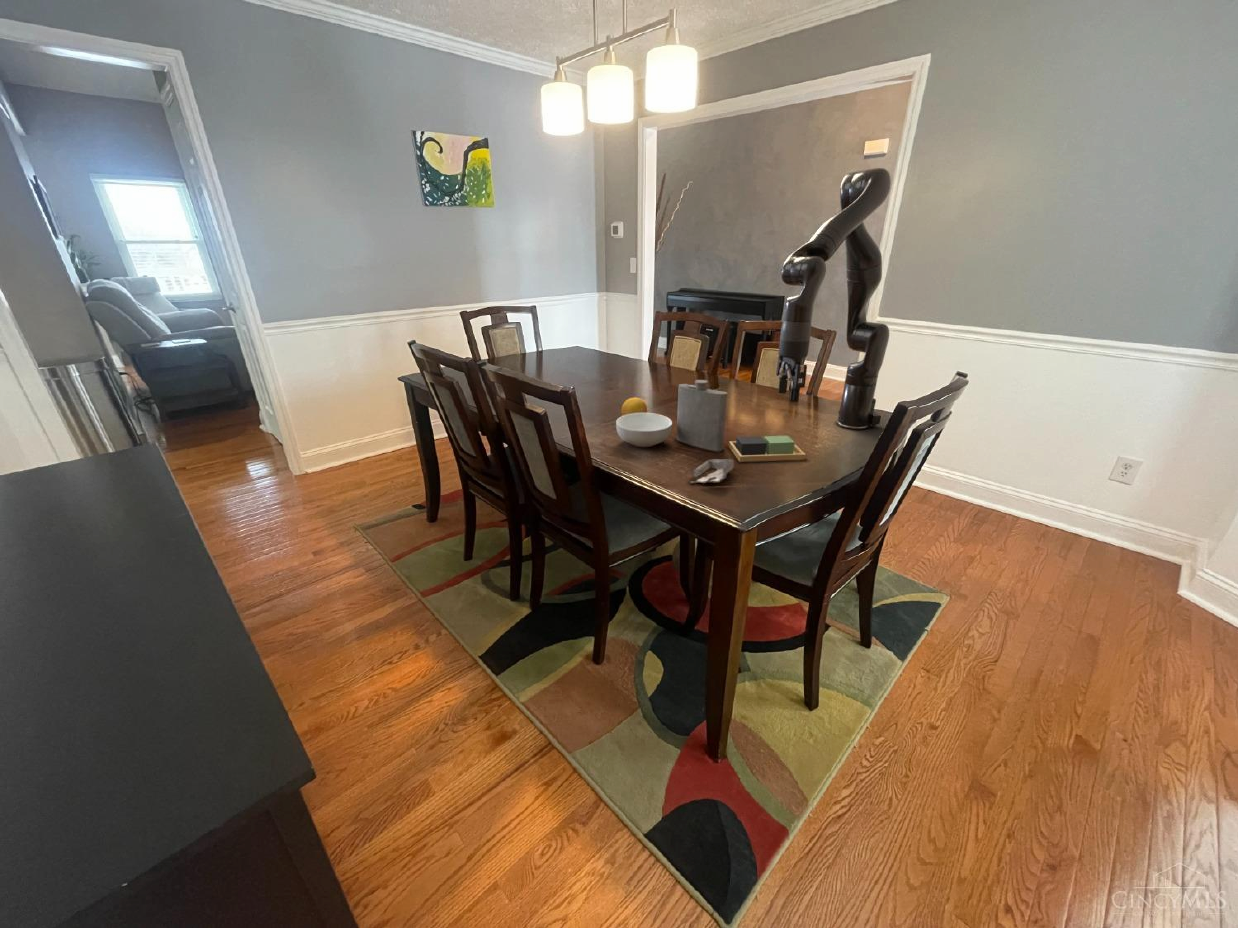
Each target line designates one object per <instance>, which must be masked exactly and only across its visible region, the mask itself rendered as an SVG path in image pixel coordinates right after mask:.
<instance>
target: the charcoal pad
mask: <svg viewBox="0 0 1238 928" xmlns="http://www.w3.org/2000/svg"><path fill="white" fill-rule="evenodd" d="M735 438H736V439H735V441H736V448H737V449H738V451H739V452H740V453H741V455H765V452H766V444H767V443H766V442H765V441H764V438H762V437H761V436H759V435H758V436H736V437H735Z"/></svg>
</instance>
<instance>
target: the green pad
mask: <svg viewBox="0 0 1238 928" xmlns="http://www.w3.org/2000/svg"><path fill="white" fill-rule="evenodd" d="M763 440H764V441H765V442H766V443H767V444H766V453H767V454H768V455H771V454H793V452H794V445H796V442H795V441H794V440H793V439H792V438H791V436H789V435H765V436H763Z"/></svg>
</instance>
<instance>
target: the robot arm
mask: <svg viewBox="0 0 1238 928" xmlns="http://www.w3.org/2000/svg"><path fill="white" fill-rule="evenodd" d="M891 183H892V179H891V174H890V173H889V170H887V169H886V168H884V167H883V168H882V167H875V168H869V169H862V170H856V171H852V172H849V173H847V174H846V175H844V177H843V179H842V181H841V184H840V189H839V202H840V203H839V204H840V211H839V212H837V213H836V214H834V215H833V216H831V217H830V218H829V219H827V220H825V222H824V223H822V225H820V227H819V228H818V229H817V230H816V232H815V233H814V234H813V235H812V237H811V238H810V239H809V240H808V241H807V242H805V243H804V244H803V245H801V246H800V247H799V248H797V249H796V250H795V251H793V252H792V253H791V254H790V255H789V256H788V257H787V258H786V259H785V261H784V262H783V265H782V267H781V271H780V277H781V280H782V282H783V283H784V284H785V285H788V286H793V287H802V289H801V291H800V293H799V294H796V295H791V296H789V297H787V298H786V299H785V302H784V309H783V320H782V324H781V328H780V335H779V343H778V344H779V345H778V358H777V363H776V364H777V366H776V373H775V375H776V377H777V378H778V388H777V392H778V394H786V393H787V390H788V383H789V382H790V391H789V401H790V402H791V403H797V402H799V399H800V393H801V392H800V391H801V389H802V388H803V389H804V388H805V387H806V379H807V370H808V365H807V364H803V363H802V360H803V358H806V357H808V356H809V349H810V342H811V336H812V335H811V334H812V319H813V312H814V305H815V302H816V300H817V297H818V294H819V291H820V289H821V287H822V285H823V282H824V280H825V276H826V273H827V264H826V262H828V261H830V259H832V258H833V256H834V254H835V253H836V252H837V251H838V250H839V248H840V247H841V245H843V243H844V244H845V269H846V271H845V272H846V287H847V320H846V344H847V347H848V348H849V349H850V350H851V351H853V352H857V353H864V356H863V359H862V360H860V361H856V362H851V363H849V364H848V365H847V367H846V374H845V379H844V385H843V390H842V395H841V401H840V406H839V410H838V413H837V414H838V417H837V422H836V424H837V426H840V427H842V428H845V429H848V430H866V429H870V428H871V426H873V427H875V426H877V425H880V424H881V418H882V415H880V414H879V413H878V412H875V407H876V402H877V400H876V398H875V393H876V387H877V384H878V383H877V382H878V378H879V373H880V371H881V368H882V366H883V362H884V360H885V356H886V351H887V348H888V344H889V340H890V328H889V326H888V325H887V324H886V323H880V322H873V321H867V320H868V319H867V309H868V304H869V302H870V300H871V298H872V297H873V295H874V294H875V292H876V291H877V289H878V288H879V286H880V284H881V281H882V279H883V256H882V252H881V249H880V248H879V246H878V245H877V243H876V242H875V240H874V239H873V237H872V236H871V234H870V232H869V231H868V230H867V227H866V225H865V223H864V221H865V220H866V219H868V218H869V217H870V216H871V215H872V214H873V213H875V211H876V210H878V209H879V208H880V207H881V206H882V205H883V203H884V202H885V201H886V199H887V198H888V196H889V193H890V190H891Z"/></svg>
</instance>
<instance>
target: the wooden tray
mask: <svg viewBox="0 0 1238 928" xmlns="http://www.w3.org/2000/svg"><path fill="white" fill-rule="evenodd" d="M728 448H729V449H730V450H731V452H732V453H733V455H734V456H735V458H736V459H737V460H738V462H739V463H742V462H743V463H744V462H770V461H772V462H773V461H774V462H775V461H802V460H806V458H807V457H806V456H807V454H806V453H805V452H804V451H803V450H802V449H801V448H800V447H799V446H798V445H796V444H795V445H794V452H793V454H771V455H768V454H767V453H766V452H765V455H741V453H740V452H739V451H738V449H737V448H736V440H734V441H733V440H732V441H728Z"/></svg>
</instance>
